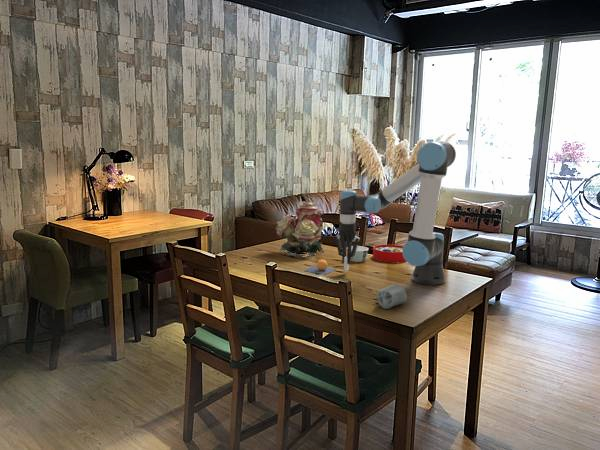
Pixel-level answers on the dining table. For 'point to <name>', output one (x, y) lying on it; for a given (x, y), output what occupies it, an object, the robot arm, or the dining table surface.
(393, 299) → the spool
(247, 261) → the dining table surface
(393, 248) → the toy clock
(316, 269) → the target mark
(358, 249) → the food container
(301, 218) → the rose bouquet
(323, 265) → the ball
